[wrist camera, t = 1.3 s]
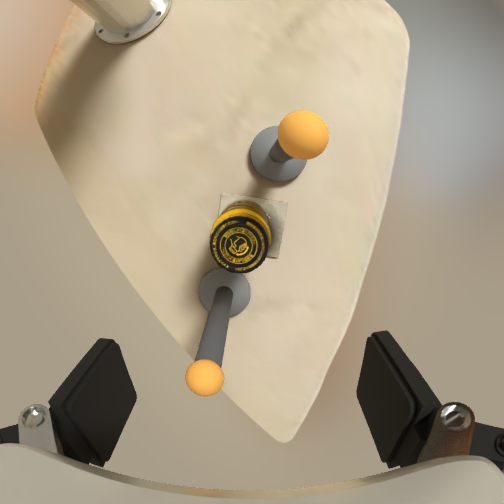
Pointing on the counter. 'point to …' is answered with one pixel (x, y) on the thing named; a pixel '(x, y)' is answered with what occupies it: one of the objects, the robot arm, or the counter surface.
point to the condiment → (246, 232)
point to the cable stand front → (289, 145)
